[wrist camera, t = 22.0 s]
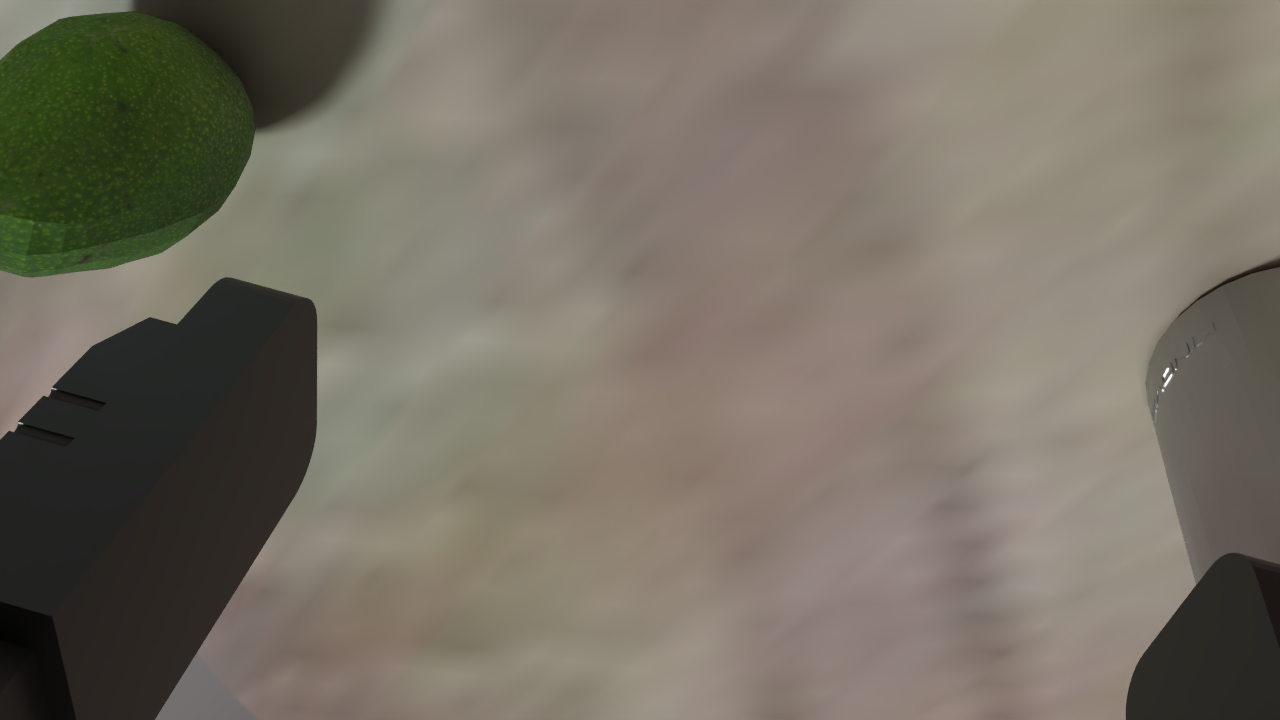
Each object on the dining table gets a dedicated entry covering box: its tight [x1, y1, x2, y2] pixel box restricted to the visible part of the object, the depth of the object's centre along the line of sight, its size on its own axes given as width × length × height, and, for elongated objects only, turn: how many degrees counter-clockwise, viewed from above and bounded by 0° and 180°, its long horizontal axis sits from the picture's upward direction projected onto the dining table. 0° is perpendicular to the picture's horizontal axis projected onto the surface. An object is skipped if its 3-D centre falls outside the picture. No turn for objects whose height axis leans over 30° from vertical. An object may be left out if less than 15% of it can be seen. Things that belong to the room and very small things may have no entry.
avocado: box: [0, 11, 256, 277], centre depth 37 cm, size 8×8×12 cm
